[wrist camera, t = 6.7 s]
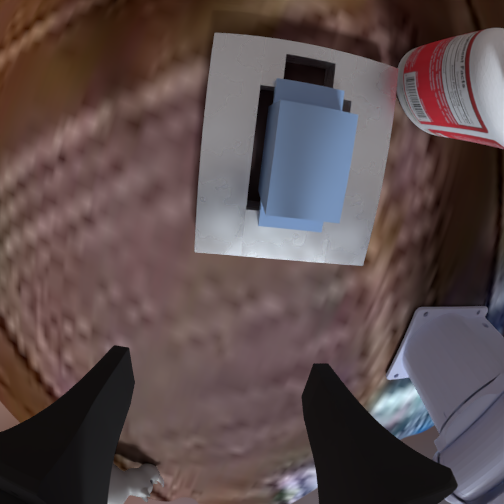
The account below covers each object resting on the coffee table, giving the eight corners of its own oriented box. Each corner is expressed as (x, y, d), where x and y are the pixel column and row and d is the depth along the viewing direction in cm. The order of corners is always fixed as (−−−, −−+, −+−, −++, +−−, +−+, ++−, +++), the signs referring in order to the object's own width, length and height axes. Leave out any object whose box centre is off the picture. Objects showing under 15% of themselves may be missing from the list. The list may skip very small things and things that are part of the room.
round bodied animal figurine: (151, 460, 35) (167, 510, 28) (71, 459, 29) (80, 513, 22) (157, 440, 32) (176, 498, 26) (65, 439, 26) (75, 502, 19)
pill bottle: (473, 90, 15) (595, 102, 5) (440, 153, 17) (569, 198, 7) (414, 30, 14) (538, -6, 4) (375, 94, 16) (512, 86, 6)
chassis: (383, 72, 15) (398, 68, 13) (352, 252, 20) (362, 265, 18) (216, 42, 14) (214, 32, 12) (198, 239, 19) (194, 252, 17)
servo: (271, 84, 15) (284, 70, 11) (329, 94, 16) (362, 86, 11) (255, 211, 18) (261, 243, 14) (310, 217, 19) (333, 249, 14)
